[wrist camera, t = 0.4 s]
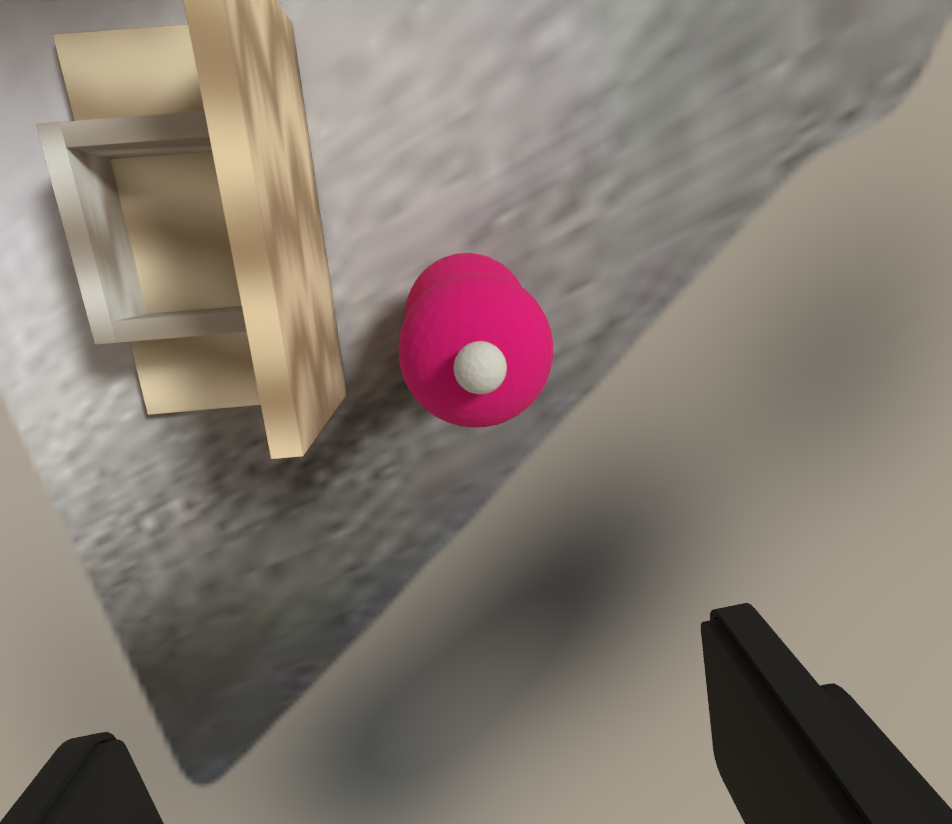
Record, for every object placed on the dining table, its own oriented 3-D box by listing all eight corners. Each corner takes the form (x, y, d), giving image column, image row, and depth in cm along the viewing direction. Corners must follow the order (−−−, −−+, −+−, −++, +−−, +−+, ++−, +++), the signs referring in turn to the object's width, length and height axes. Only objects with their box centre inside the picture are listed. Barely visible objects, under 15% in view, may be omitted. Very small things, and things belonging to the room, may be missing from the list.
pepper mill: (411, 363, 38) (371, 478, 19) (409, 251, 36) (362, 254, 17) (518, 364, 38) (585, 478, 19) (522, 253, 37) (601, 257, 17)
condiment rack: (62, 39, 32) (-155, -79, 21) (292, 22, 32) (205, -103, 21) (153, 411, 38) (26, 481, 27) (346, 394, 39) (302, 456, 27)
